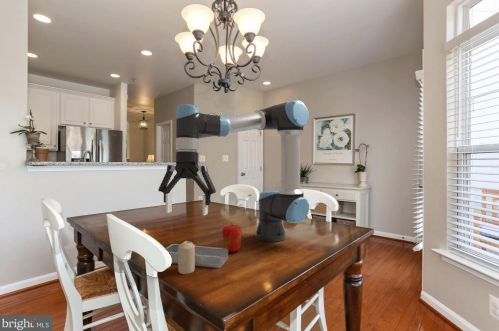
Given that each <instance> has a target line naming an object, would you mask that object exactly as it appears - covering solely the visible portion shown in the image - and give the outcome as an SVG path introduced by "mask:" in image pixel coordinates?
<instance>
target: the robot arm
mask: <svg viewBox="0 0 499 331" xmlns="http://www.w3.org/2000/svg"><path fill="white" fill-rule="evenodd" d="M309 120H310V114H309V110H308V107H307V106H306V105H305V103H303V101H301V100H297V99H295V100H289V101H286V102H282V103H279V104H274V105H271V106H268V107H266V108H262V109H256V110H255V111H254V112H251V113H250V112H249V113H241V114H232V115H219V114H218V115H216V114H208V113H202V112H200V108H199V106H197V105H194V104H180V105H177V107H176V111H175V134H176V135H175V150H176V152H175V165H174V164H168V165H167V166H166V172H165V174H164V177H163V178H162V181H161V183H160V185H159V187H158V192H160V193H162V194H163V203H164V204H165V214H169V213H172V210H173V207H172V206H173V204H172V203H173V193H172V192H171V191H172V190H173V189H174V187H175V186H176V185H177V183H178V182H179V181H180V180H181V179H189V180H190V179H192V180H193V181H194V182H195V183H196V184H197V186H198V187H199V188H200V190H201V191H202V192H203V194H204V195H202V216H206V215H208V214H209V206H210V205H211V196H212V195H213V194H216V193H217V190H216V187H215V185H214V183H213V181H212V179H211V176H210V175H209V173H208V172H209V171H208V166H207V165H201V166H200V165H199V152H198V151H199V139H203V138H210V137H219V138H221V137H222V138H224V137H226V136H227V137H228V135H229V134H233V133H239V132H245V131H251V130H252V131H253V130H257V131H266V130H267V131H268V130H271V131H272V130H276V131H277V134H279V136H280V189H279V190H274V191H273V190H272V191H270V190H269V191H262V192H260V193H259V196H258V223H257V227H256V230H255V233H254V234H255V236H254V237H255V239H257V240H259V241H263V242H268V243H270V242H273V243H274V242H275V243H277V242H281V241H284V240H286V238H287V232H286V230H285V227H284V223H283V221H285V222H288V223H290V224H291V223H292V224H301V223H302V222H303V221H304V220H306V218H307V217H308V214H309V211H310V202H309V201H308V200H307V198H305V195H304V191H303V190H302V189H301V135H302V134H303V132H304V127H305V126H306V125H307V124H308V123H309ZM174 172H176V173H175V174H174ZM198 172H200V173H201V176H202V178H203V179H201V176H200V175H199V174H198ZM173 174H174V175H173ZM172 176H173V178H172ZM171 178H172V179H171ZM170 180H171V181H170ZM203 180H204V181H203Z"/></svg>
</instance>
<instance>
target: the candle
mask: <svg viewBox="0 0 499 331" xmlns="http://www.w3.org/2000/svg"><path fill="white" fill-rule="evenodd" d="M195 246H196V244H194V243H193V241H189V240H185V241H183V242H182V243H180V245H179V246H178V265H177V267H178V268H177V271H178V273H179V274H181V275H188V274H191V273H192V274H193V273H194V272H195V270H196V269H195V268H196V267H195V266H196V265H195Z"/></svg>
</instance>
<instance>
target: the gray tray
mask: <svg viewBox="0 0 499 331" xmlns="http://www.w3.org/2000/svg"><path fill="white" fill-rule="evenodd" d="M180 244H181V243H180ZM180 244H178V243H171V244H170V245H169V246H167V247H165V248H164V249H166V250H167V251H168V252H169V254H170V255H171V257H172V263H171V264H178V246H179V245H180ZM228 259H229V252H228V249H225V248H224V247H212V246H200V245H195V266H197V267H206V268H216V269H220V268H222V266H224V264H225V262H227V260H228Z"/></svg>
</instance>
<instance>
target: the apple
mask: <svg viewBox="0 0 499 331" xmlns="http://www.w3.org/2000/svg"><path fill="white" fill-rule="evenodd" d="M221 232H222V239H223V240H222V241H223V248H225V249H228V253H235V252H237V251H238V250H240V249H241V247H242V246H241V244H242V234H243V229H242V228H241V226H239V225H237V224H235V225H234V224H233V223H231V224H230V225H226V226H224V227H223V228H222V231H221Z"/></svg>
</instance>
